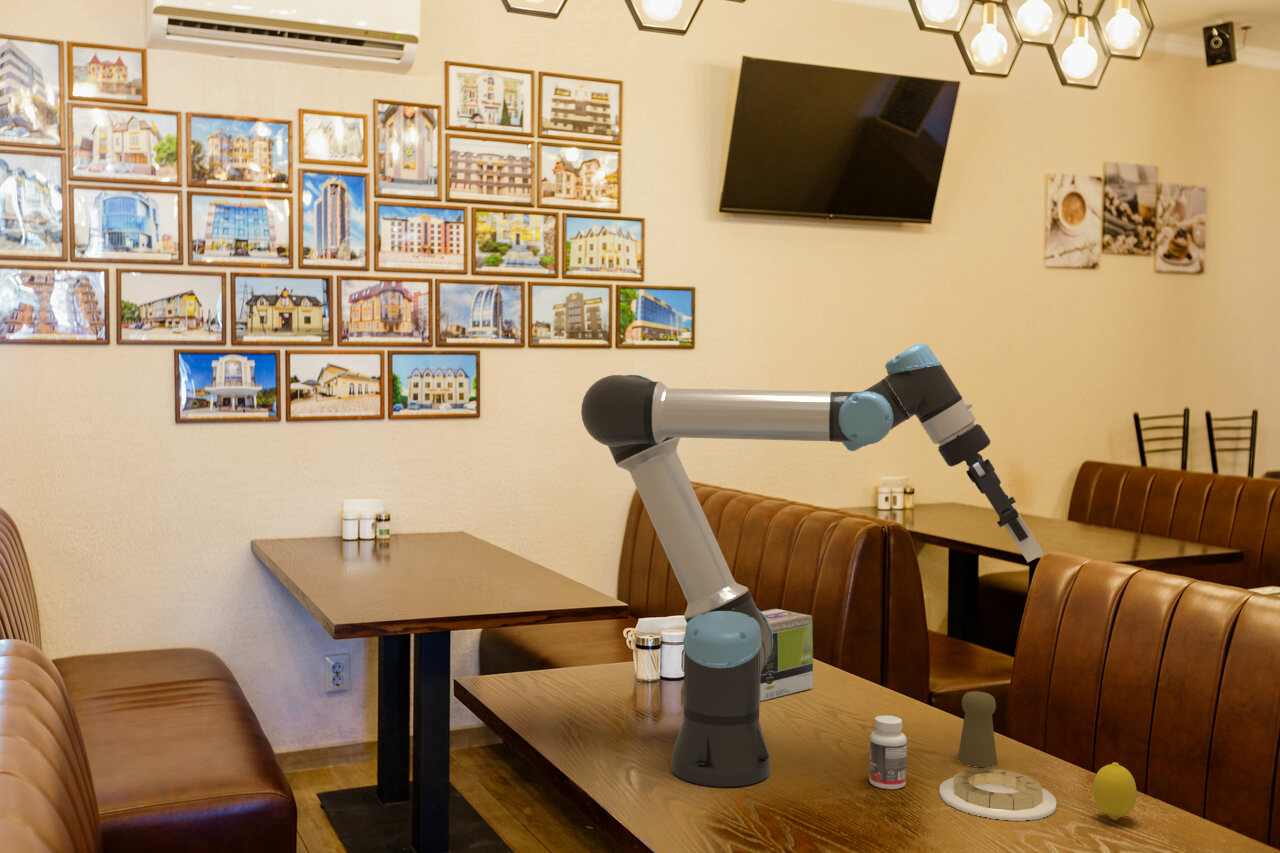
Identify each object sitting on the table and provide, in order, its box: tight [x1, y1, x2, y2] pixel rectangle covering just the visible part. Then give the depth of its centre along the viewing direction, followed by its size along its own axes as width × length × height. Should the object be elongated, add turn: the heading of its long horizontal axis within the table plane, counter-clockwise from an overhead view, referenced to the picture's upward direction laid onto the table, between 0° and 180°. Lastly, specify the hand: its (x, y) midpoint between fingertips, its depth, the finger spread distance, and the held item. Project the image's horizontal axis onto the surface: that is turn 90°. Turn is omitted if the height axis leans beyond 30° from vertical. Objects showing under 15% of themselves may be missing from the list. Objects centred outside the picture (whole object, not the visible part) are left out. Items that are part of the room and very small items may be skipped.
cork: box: [957, 690, 998, 768], centre depth 176 cm, size 6×6×11 cm
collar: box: [952, 768, 1043, 810], centre depth 160 cm, size 12×12×2 cm
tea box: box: [760, 608, 814, 702], centre depth 217 cm, size 15×10×15 cm, turn 130°
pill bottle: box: [868, 714, 908, 790], centre depth 166 cm, size 5×5×10 cm
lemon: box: [1092, 761, 1138, 821], centre depth 153 cm, size 6×6×8 cm
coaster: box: [939, 777, 1057, 822], centre depth 160 cm, size 16×16×1 cm
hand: (1032, 550), depth 173 cm, fingers open, 13 cm apart
